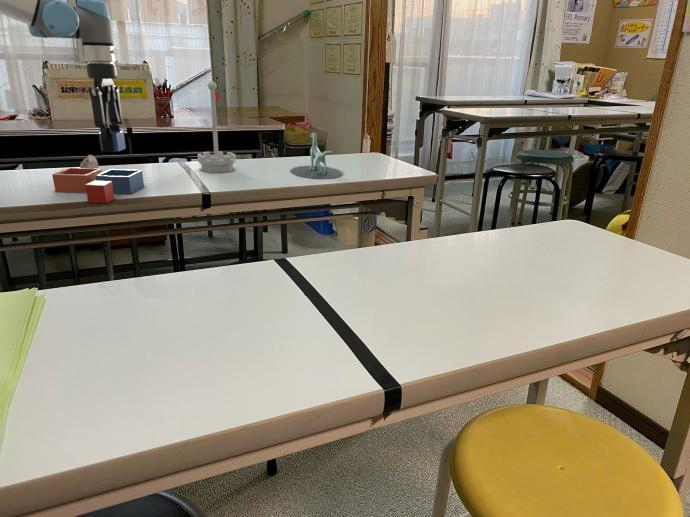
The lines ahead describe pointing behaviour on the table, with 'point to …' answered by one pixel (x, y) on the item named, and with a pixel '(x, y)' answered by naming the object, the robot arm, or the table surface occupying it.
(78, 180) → the terracotta bin
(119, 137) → the blue block
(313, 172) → the dinosaur
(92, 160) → the rock
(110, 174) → the blue bin
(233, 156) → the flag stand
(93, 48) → the robot arm
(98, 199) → the red block
